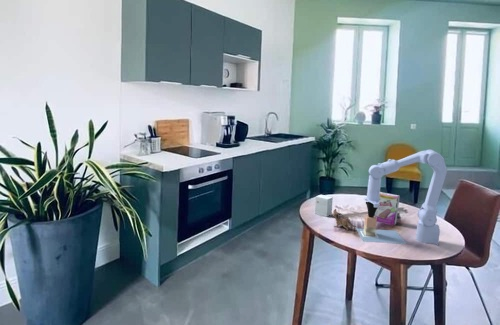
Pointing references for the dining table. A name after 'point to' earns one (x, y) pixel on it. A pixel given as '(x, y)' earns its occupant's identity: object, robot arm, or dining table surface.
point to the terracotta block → (370, 221)
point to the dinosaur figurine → (342, 220)
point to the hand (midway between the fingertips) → (370, 217)
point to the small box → (323, 205)
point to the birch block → (369, 231)
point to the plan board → (382, 236)
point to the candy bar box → (387, 208)
